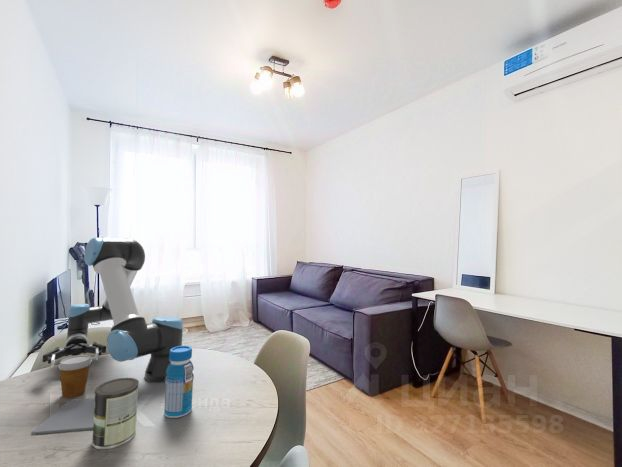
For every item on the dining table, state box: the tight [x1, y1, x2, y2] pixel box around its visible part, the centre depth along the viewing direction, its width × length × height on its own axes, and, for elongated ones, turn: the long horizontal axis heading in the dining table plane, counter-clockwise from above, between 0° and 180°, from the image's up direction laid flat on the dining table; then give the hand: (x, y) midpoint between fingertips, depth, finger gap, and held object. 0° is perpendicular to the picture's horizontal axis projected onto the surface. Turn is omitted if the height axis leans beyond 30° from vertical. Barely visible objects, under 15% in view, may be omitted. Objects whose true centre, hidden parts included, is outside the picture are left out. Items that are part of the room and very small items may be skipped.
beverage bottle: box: [163, 345, 195, 419], centre depth 97 cm, size 8×8×20 cm
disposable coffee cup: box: [58, 354, 93, 399], centre depth 106 cm, size 10×10×12 cm
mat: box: [31, 397, 95, 436], centre depth 94 cm, size 18×18×1 cm
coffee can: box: [91, 377, 140, 450], centre depth 83 cm, size 10×10×14 cm
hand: (75, 359), depth 114 cm, fingers open, 13 cm apart
